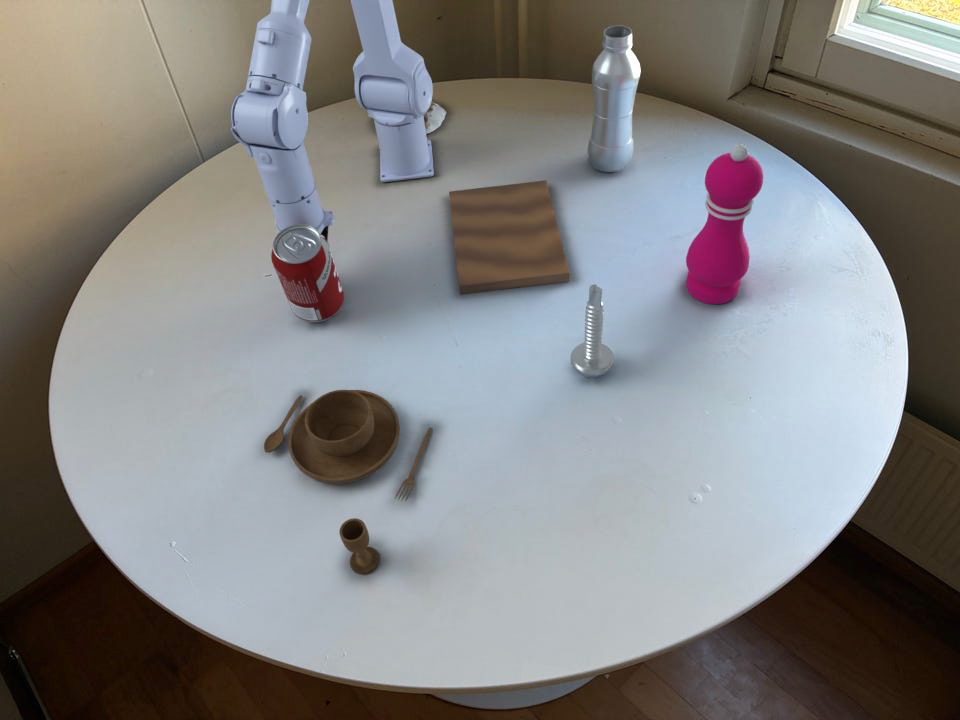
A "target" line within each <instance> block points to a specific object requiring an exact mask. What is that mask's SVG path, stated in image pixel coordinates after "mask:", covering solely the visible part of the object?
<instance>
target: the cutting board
mask: <svg viewBox="0 0 960 720" xmlns="http://www.w3.org/2000/svg"><path fill="white" fill-rule="evenodd" d="M549 189H550V188H549V186H548V181H547V180H546V179H545V180H537V181H527V182H519V183H511V184H502V185H493V186H486V187H477V188H467V189H459V190H450V191H448V195H449V205H450V206H449V207H450V213H451V215H450V217H451V225H452V234H453V245H454V253H455V261H456V271H457V281H458V291H459V295H464V294H466V295H467V294H474V293H475V294H476V293H484V292H492V291H501V290H509V289H516V288H517V289H519V288H525V287H527V288H528V287H533V286H542V285H552V284H559V283H561V284H562V283H568V282H570V280H571V279H570V276H571V275H570V274H571V272H570V269H569V264H568V261H567V256H566V254H565V249H564V245H563V241H562V240H563V239H562V237H561V233H560V229H559V224H558V220H557V218H556V212H555V210H554V209H555V208H554V205H553V202H552V201H553V200H552V197H551V193H550V190H549Z"/></svg>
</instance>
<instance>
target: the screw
mask: <svg viewBox="0 0 960 720" xmlns="http://www.w3.org/2000/svg"><path fill="white" fill-rule="evenodd" d="M602 298H603V288H601V287H600V286H598V285H597V284H591V285H590V286H589V287H588V301H586V306H585V316H584V317H585V319H584V320H585V323H584V342H582V343H580V344H578V345H576V346H575V347H574V348H573V349H572V350H571V353H570V359H569V361H570V364H571V366H572V368H573V369H574V370H575V371H576V372H578V373H579V374H582V375H583V376H584V378H587V379H589V378H592V379H598V378H600V376H603V375H604V374H607V373H608V372H609V371H610V370H611V369H613V367H614V365H615V364H614V363H615V355H614V352H613V350H612V349H611V348H610V347H609V346H607V345H606V344H604V343H603V341H602V340H603V330H604V329H603V327H604V325H603V324H604V312H605V310H604V303H603V302H602V301H603V300H602Z"/></svg>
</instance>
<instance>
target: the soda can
mask: <svg viewBox="0 0 960 720" xmlns="http://www.w3.org/2000/svg"><path fill="white" fill-rule="evenodd" d="M270 255H271V256H270V258H271V263H272V265H273V269H274V270H275V273H276V275H277V278H278V280H279V282H280V285H281V288H282V290H283V293H284V294H285V296H286V299H287V301H288V303H289V307H290V309H291V311H292V313H293V314H294V315H295V316H296V317H297V318H298V319H300V320H302V321H304V322H309V323H320V322H324V321H327V320H329V319H331V318H332V317H334V316H335V315H337V314H338V313H339V312H340V310H341V309H342V308H343V305H344V302H345V293H344V289H343V286H342V281H341V278H340V276H339V273H338V269H337V266H336V262H335V260H334V256H333V253H332V250H331V246H330V243H329V240H328V241H327V240H326V238H325V237H324V236H322V235H321V234H319V232H318V231H317V230H316V229H315V228H313V227H311V226H309V225H305V224H296V225H291V226H288V227H286V228H284V229H283V230H281V231H280V232H279V233H278V232H277V234H276V235H275V237H274V239H273V241H272V249H271V254H270Z"/></svg>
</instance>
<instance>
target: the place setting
mask: <svg viewBox="0 0 960 720" xmlns="http://www.w3.org/2000/svg"><path fill="white" fill-rule="evenodd" d="M302 399H303V395H302V394H301V395H299V396H298V397H296V399H295V401H294V402H293V404H292V405H291V407H290V409H289V411H288V412H287V414H286V415H285V417H284V419H283V421H282V422H281V424H280V425H279V427H278V428H277V429H275V430H274V431H272V432H271V433H270V434H269V435H268V436H267V437H266V438H265V439H264V443H263V450H264V452H265V453H273V452H274V451H275V450H277V449H278V448H279V447H280V446H281V445H282V443H283V441H284V438H285V432H284V430H285V427H286V426H287V424H288V422H289V420H290V419H291V417H292V416H293V414H294V413H295V411H296V410H297V408H298V407H299V405H300V404H301V401H302ZM432 430H433V427H432V426H431V427H430V426H429V427H428V429H427V430H426V433H425V435H424V437H423V438H422V439H423V440H422V442H421V443H420V447H419V449H418V452H417V453H416V457H415V459H414V461H413V464H412V467H411V469H410V471H409V474H408V477H407V478H405V479H404V480H403V481H402V483H401V485H400V487H399V489H398V491H397V493H396V494H395V497H394V500H396V499H397V501H399V500H400V499H401V500H400V501H401V502H402V501H403V500H404V498H405V497H406V498H405V500H404V502H406V501H408V499H409V497H410V495H411V493H412V492H413V489H414V487H415V484H416V482H415V479H414V476H415V474H416V470H417V468H418V466H419V464H420V461H421V459H422V456H423V454H424V451H425V449H426V446H427V444H428V442H429V439H430V437H431V434H432ZM400 435H401V426H400V419H399V416H398V413H397V411H396V410H395V408H394V407H393V405H392V404H391V403H390V402H389V401H388V400H387V399H385V398H384V397H383V396H381V395H379V394H377V393H374V392H372V391H368V390H362V389H337V390H332V391H329V392H326V393H324V394H322V395H320V396H319V397H318V398H316V399H315V400H314V401H312V402H311V403H310V404H309V405H307V406H306V407H305V408H304V409H303V410H302V411H301V412H300V413H299V414H298V416H297V417H296V418H295V420H294V422H293V423H292V426H291V427H290V430H289V434H288V441H287V442H288V443H287V445H288V451H289V455H290V458H291V460H292V462H293V463H294V465H295V466H296V467H297V469H298V470H299V471H300V472H302V473H303V474H304V475H305V476H306V477H308V478H310V479H312V480H315V481H317V482H321V483H323V484H330V485H342V484H343V485H344V484H349V483H354V482H357V481H360V480H363V479H365V478H368V477H369V476H371V475H373V474H375V473H376V472H377V471H378V470H380V469H381V468H382V467H383V466H385V465H386V463H387V462H388V461H389V460H390V459H391V458H392V457H393V455H394V453H395V451H396V449H397V446H398V444H399V441H400ZM403 486H404V487H403ZM398 495H399V496H398ZM406 495H407V496H406ZM397 497H398V498H397ZM401 497H402V498H401ZM338 531H339V536H340V540H341V542H342V544H343V546H344V547H345V548H346V550H347V551H349V552H350V553H352V554H351V556H350V559H349V566H350V568H351V570H352V571H353V572H355V573H356V574H359V575H367V574H370V573H371V572H373V571H374V570H375V569H377V567H378V566H379V563H380V554H379V552H378V551H377V549H375V548H373V546H372V547H371V546H369V543H370V534H369V530H368V528H367V525H366V523H365V522H364V521H363V520H362V519H360V518H357V517H355V518H354V517H353V518H349V519H346V520H345V521H344V522H343V523H342V524H341V526H340V527H339V530H338Z"/></svg>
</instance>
